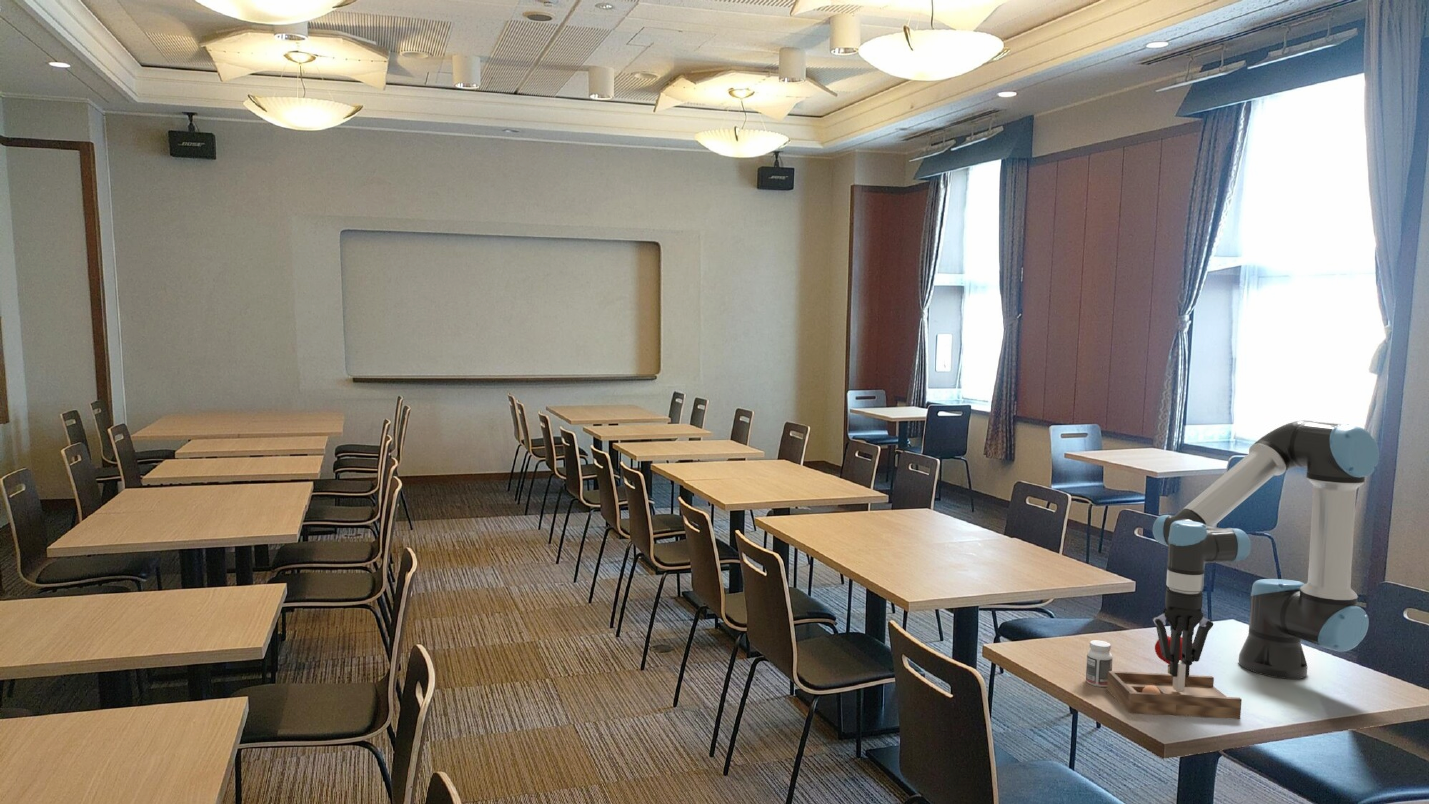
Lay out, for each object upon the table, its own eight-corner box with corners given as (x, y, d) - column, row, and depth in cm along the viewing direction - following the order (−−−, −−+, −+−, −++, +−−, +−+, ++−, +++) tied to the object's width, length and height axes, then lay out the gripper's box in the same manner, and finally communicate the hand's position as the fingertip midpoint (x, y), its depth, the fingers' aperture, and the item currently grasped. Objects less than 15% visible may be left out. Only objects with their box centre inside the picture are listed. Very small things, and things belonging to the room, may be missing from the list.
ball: (1155, 700, 215) (1158, 684, 214) (1162, 707, 211) (1165, 690, 210) (1137, 698, 215) (1140, 681, 215) (1144, 705, 211) (1147, 688, 211)
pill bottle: (1111, 681, 226) (1113, 641, 225) (1110, 689, 221) (1113, 648, 220) (1086, 677, 228) (1088, 638, 227) (1084, 684, 223) (1087, 644, 222)
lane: (1210, 694, 219) (1211, 676, 219) (1240, 719, 205) (1241, 699, 205) (1106, 689, 220) (1108, 670, 220) (1129, 713, 207) (1130, 693, 206)
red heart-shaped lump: (1157, 680, 227) (1160, 640, 227) (1149, 670, 234) (1151, 631, 234) (1198, 683, 226) (1201, 643, 225) (1188, 673, 233) (1191, 634, 232)
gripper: (1206, 586, 214) (1200, 685, 216) (1148, 583, 215) (1142, 682, 217) (1221, 595, 207) (1215, 697, 208) (1161, 592, 208) (1155, 695, 209)
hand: (1178, 689), depth 213 cm, fingers closed
